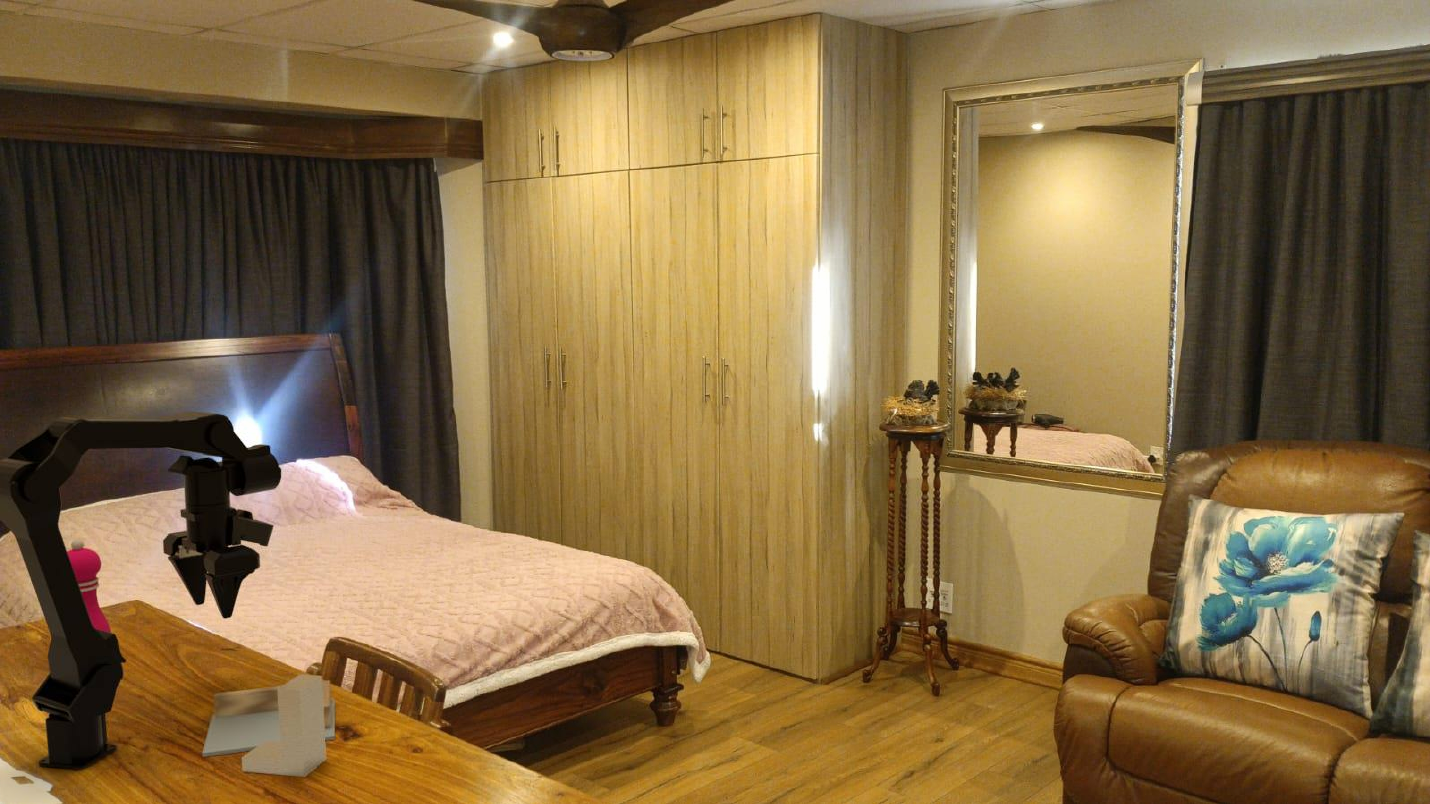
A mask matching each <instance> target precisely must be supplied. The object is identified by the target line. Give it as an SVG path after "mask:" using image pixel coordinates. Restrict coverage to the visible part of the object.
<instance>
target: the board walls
mask: <svg viewBox="0 0 1430 804" xmlns="http://www.w3.org/2000/svg"><path fill="white" fill-rule="evenodd" d="M281 686H282V685H278V686H277V685H276V686H269V687H260V688H259V687H258V688H252V689H251V688H250V689H242V690H235V691H225V692H218V693H217V692H216V693H214V696H213V700H214V701H213V702H214V704H213V705H214V715H215V718H218V717H226V716H234V715H242V714H250V713H258V712H267V711H275V710H279V709H278V692H277V689H278V688H280V687H281ZM322 689H323V706H324V724H325V728H331V700H332V697H331V681H330V680H322Z"/></svg>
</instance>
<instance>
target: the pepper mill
mask: <svg viewBox="0 0 1430 804" xmlns="http://www.w3.org/2000/svg"><path fill="white" fill-rule="evenodd" d="M70 545H71V548H72V549H69V550H67V553H68V556H69V558H70V561H71V564H72V567H73V570H74V573H75V576H76V579H77V581H78V584H79V587H80V590H81V593H82V596H83V599H84V601H85V604H86V607H87V610H88V613H89V616H90V619H91V622H92V624H93V626H94V628H95V629H98V630H102V631H105V632H109V633H112V629H111V625H110V624H109V622H108V619H107V618H106V616H105V614H104V613H103V611H102V609H101V607H100V605H99V604H100V603H99V599H98V595H97V591H98V590H97V589H98V588H99V587H100V583H99V580H100V579H99V577H97V575H98V574H99V572H100V571H101V569H102V568H101V567H102V560H101V558H100V557H101V556H100V555H99V554H98V553H97V552H96V551H95V550H93V549H92V548H87V547H85V542H84V541H83V540H82V539H81V538H76V539H73V540H72V542H71V543H70Z"/></svg>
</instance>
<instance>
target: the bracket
mask: <svg viewBox="0 0 1430 804" xmlns="http://www.w3.org/2000/svg"><path fill="white" fill-rule="evenodd" d="M322 681H323V676H322V675H313V674H298V675H297V676H296V677H294V678H292V679H291V680H288V682H286V683H285V684H283V685H280V686H281V687H280V688H278V689H277V692H278V709H279V725H280V741H281V742H273V741H264V742H263V743H261V744H260V745H259V746H257V747H256V748H254V749H253V750H252V751H248V753H246V754H244V755H243V756H242V757H241V767H242V770H241V771H242V772H243V773H244V772H246V773H256V774H257V773H258V774H268V775H277V776H278V775H279V776H287V777H288V776H289V777H298V778H299V777H300V778H305V777H307V776H308V775H310V774H311V772H313V771H315V769H317V768H318V767H320V766H321V765H322V764H323V763H324V762H325V761H326V760H327V759H328V758H327V748H326V747H327V746H326V742H327V741H325V724H324V706H323V689H322ZM322 762H323V763H322ZM321 763H322V764H321ZM320 764H321V765H320ZM317 766H318V767H317Z"/></svg>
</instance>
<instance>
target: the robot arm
mask: <svg viewBox="0 0 1430 804" xmlns="http://www.w3.org/2000/svg"><path fill="white" fill-rule="evenodd" d="M234 428H235V427H234V425H233V423H232V421H231V420H230V419H229V417H228V416H227V415H225V414H221V413H212V412H204V411H195V410H194V411H185V412H181V413H180V412H178V413H174V414H170V415H167V416H164V417H160V418H155V419H146V418H145V419H143V418H142V419H137V418H136V419H135V418H133V419H129V418H128V419H127V418H126V419H125V418H124V419H123V418H122V419H121V418H119V419H115V418H113V419H112V418H111V419H108V418H107V419H106V418H105V419H104V418H102V419H97V418H86V419H85V418H76V417H66V416H65V417H58V418H57V419H55V420H53V421H52V422H51V423H49V425H48V426H46V427H45V428H44V429H43V430H42V431H41V432H40V433H38V434H37V435H35V436H34V437H32V438H30V439H29V440H26V441H25V442H24V443H22V444H21V445H19V446H17V447H16V448H15V449H13V451H12V452H11V453H9V454H8V455H7V456H6V457H5V458H4V459H0V521H1V522H2V523H3V524H4V525H5V526H6V527H7V529H8V530H10V532H12V534H13V536H14V537H15V539H16V543H17V546H18V548H19V551H20V553H21V556H22V559H23V561H24V564H25V567H26V570H27V573H28V576H29V578H30V580H31V584H32V586H33V589H34V592H35V594H36V598H37V601H38V602H39V606H40V608H41V611H42V614H43V617H44V620H45V623H46V625H47V629H48V631H49V633H50V642H49V647H48V653H47V660H48V667H49V673H48V675H47V676H46V678H44V681H43V682H41V685H40V686H39V687H38V688H37V690H36V691H35V692H34V694H33V696H32V698H31V700H32V702H33V703H34V705H35V708H36V709H37V710H38V711H40V712H45V713H48V717H46V718H45V720H44V721H45V728H46V729H45V730H46V741H47V752H48V755H47V756H45V757H44V758H42V759H39V761H38V766H41V767H50V768H60V769H61V768H62V769H71V770H72V769H73V770H83V769H85V768H87V767H89V766H91V765H92V764H94V763H96V762H97V761H99V760H100V759H102V758H104V757H105V756H107V755H109V754H111V753H113V752H115V750H117V749H118V745H117V744H116V743H115V744H114V743H108V731H107V729H108V728H107V720H106V719H107V718H106V714H107V713H110V712H111V711H112V710H113V704H114V700H115V697H116V694H117V693H116V692H117V689H118V687H119V685H120V683H121V680H123V678H124V673H125V672H124V667H123V663H124V664H125V663H126V662H127V659H126V658H124V656H123V655H122V653H121V650H120V643H119V640H118V637H117V635H116V634H115V633H112V632H111V633H109V632H105V631H102V630H98V629H95V628H94V626H93V624H92V622H91V619H90V616H89V613H88V610H87V607H86V604H85V601H84V599H83V596H82V593H81V590H80V587H79V584H78V581H77V579H76V576H75V573H74V570H73V567H72V564H71V561H70V558H69V556H68V553H67V551H68V550H67V547H66V545H65V542H64V539H63V536H62V533H61V531H60V527H59V523H60V522H59V521H60V518H61V517H60V516H61V511H62V508H63V507H62V506H63V500H62V493H61V486H62V485H63V484H64V483H65V482H66V481H68V479H69V478H70V477H71V476H72V475H73V474H74V472H75V471H76V470H77V469H76V468H77V467H78V465H79V462H80V460H81V459H82V457H83V455H85V453H87V451H88V450H105V449H107V450H108V449H109V450H110V449H113V450H114V449H161V448H163V449H168V450H169V449H170V450H175V451H181V452H186V453H194V454H201V455H203V456H208V457H202V458H201V457H200V458H192V456H191V455H182V454H181V455H179V456H178V458H177V460H176V461H175V462H174V463H172V464H171V465H170V466H169V468H167V471H168V473H170V474H175V475H182V476H183V483H184V488H183V489H184V503H185V506H184V507H185V508H182V509H180V512H179V514H180V517H181V518H183V519H185V520H186V521H185V524H186V530H183V531H175V532H171V533H168V534H167V535H166V536H165V538H164V539H163V540H162V544H163V545H162V547H163V554H165V555H167V556H168V557H167V559H168V561H169V562H170V563H171V565H172V567H173V568H174V569H175V572H176V573H177V575H178V576H179V578H180V579H181V581H182V584H183V585H184V586H185V588H186V590H187V592H188V593H189V595H190V597H191V598H192V601H193V602H194V604H195V605H196V606H200V605H204V603H205V600H206V591H207V584H208V587H209V588H210V591H211V594H212V596H213V598H214V601H215V604H216V606H217V608H218V610H219V613H220V616H221V618H223V619H230V618H232V617H233V613H234V609H235V605H236V604H237V603H236V602H237V598H238V595H239V592H240V588H241V585H242V582H244V580H245V579H246V578H247V577H248V576H249V575H251V574H254V573H255V571H256V570H257V569H260V568H261V560H260V559H261V556H260V553H259V552H258V551H256V550H255V549H254V548H252V547H249V546H247V545H244V544H242V541H243V542H248V543H254V544H259V545H260V546H261V547H268V546H269V543H270V539H271V536H272V533H273V529H274V525H273V524H271V523H268V522H265V521H262V520H258V519H254V515H253V512H252V511H249V510H246V509H245V510H244V509H241V508H237V509H236V507H233V506H231V496H230V494H231V495H233V496H234V497H235V496H236V497H240V496H241V497H242V496H246V495H250V494H251V495H253V494H257V493H261V492H268V491H271V490H275V489H277V488H278V487H279V485H280V483H281V480H282V468H281V467H280V464H279V462H278V460H277V458H276V457H275V455H274V454H273V453H271V452H272V451H271V445H269V444H263V443H261V444H255V445H252V446H249V447H247V446H246V445H245V443H244V442H243V441H242V439H241V438H240V437H239V436H238V434H237V433H236V432H235V429H234ZM212 457H216V458H221V461H216V460H215V459H214V458H212Z"/></svg>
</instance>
